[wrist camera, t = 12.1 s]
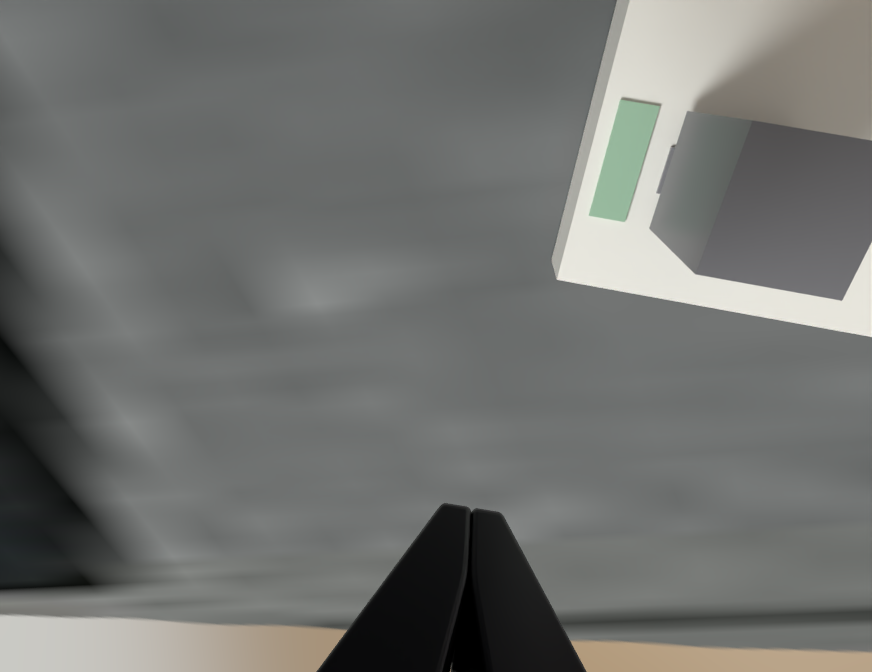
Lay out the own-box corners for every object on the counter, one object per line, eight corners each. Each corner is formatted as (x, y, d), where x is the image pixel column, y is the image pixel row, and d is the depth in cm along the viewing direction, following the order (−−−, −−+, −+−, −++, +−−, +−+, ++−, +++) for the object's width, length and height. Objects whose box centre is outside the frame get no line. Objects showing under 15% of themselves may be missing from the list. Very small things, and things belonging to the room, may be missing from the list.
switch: (648, 228, 15) (694, 274, 11) (686, 111, 14) (753, 120, 10) (759, 248, 15) (842, 300, 11) (808, 131, 14) (919, 148, 10)
